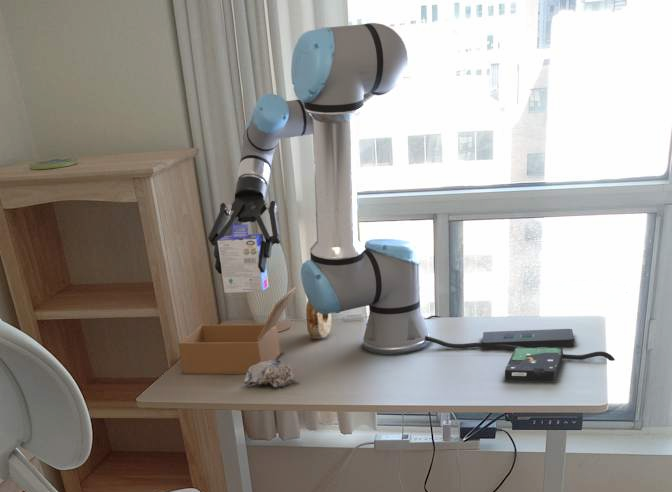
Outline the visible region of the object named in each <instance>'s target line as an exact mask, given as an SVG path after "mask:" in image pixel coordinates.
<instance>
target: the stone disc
mask: <svg viewBox="0 0 672 492" xmlns="http://www.w3.org/2000/svg"><path fill="white" fill-rule="evenodd" d="M305 311H306V316H305V317H306V328H307V332H308V334H309V337H310V338H311V339H313V340H321V339H325V338H326V337H328V335H329V333H330V331H331V329H332V313H330V314H321V313H319V312H317V311H316V310H315V309H314V308H313V307H312V305H311V304H310V302H309V300H308V299H307V302H306V309H305Z"/></svg>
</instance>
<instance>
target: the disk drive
mask: <svg viewBox="0 0 672 492" xmlns="http://www.w3.org/2000/svg"><path fill="white" fill-rule="evenodd" d="M563 354H564V347H538V348H520V347H518V348H517V349H515V350H512V354H511V355H510V358H509V361H508V362H507V365H506V367H505V370H504V381H507V382H517V383H518V382H519V383H555V382H556V380H557V378H558V374H559V371H560V368H561V364H562V362H563V360H564V359H563Z"/></svg>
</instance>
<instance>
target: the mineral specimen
mask: <svg viewBox="0 0 672 492" xmlns="http://www.w3.org/2000/svg"><path fill="white" fill-rule="evenodd" d="M295 382H296V381H295V375H294V374H293V371H292V368H291V367H289V366H288V365H286V364H284V363H283V362H282V361H281V359H278V358H276V359H274V360H269V361H264V362H259V363H258V364H256V365H253V366H251V367H250V368H249V369H248V372H247V374H245V377H244V379H243V384H244V385H248V387H253V386H254V385H260V386H261V385H262V384H263V385H265V386H266V385H267V384H270V385H271V386H272V387H273V388H280V387H281V388H283V387H285V386H289V385H291V384H293V383H295Z"/></svg>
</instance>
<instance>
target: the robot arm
mask: <svg viewBox="0 0 672 492" xmlns="http://www.w3.org/2000/svg"><path fill="white" fill-rule="evenodd" d="M408 57H409V56H408V51H407V47H406V44H405V42H404V41H403V39H402V37H401V36H400V35H399V34H398V33H397V31H395V30H394V29H393V28H391V27H390V26H387V25H385V24H382V23H378V22H377V23H376V22H369V23H362V24H361V23H360V24H353V25H352V24H351V25H341V26H338V25H337V26H328V27H327V26H326V27H324V26H322V27H321V28H316V29H311V30H307V31H304V33H302V34H301V35H300V36H299V38H298V39H297V41H296V43H295V44H294V48H293V52H292V57H291V66H290V72H291V73H290V74H291V75H290V76H291V84H292V85H293V91H294V94H295V96H296V98H298V99H291V100H285V98H283V97H282V96H281V95H279V94H278V95H277V94H275V93H272V92H271V93H265V94H263V95H262V96H261V97H260V98H259V99H258V100H257V102H256V104H255V106H254V108H253V110H252V114H251V119H250V121H248V122H247V123H246V125H245V128H244V132H243V135H242V146H241V154H240V161H239V167H238V171H237V178H236V185H235V191H234V200H233V202H232V203H231V204H226V203H225V202H221V203H220V205H219V212H218V215H217V217H216V219H215V221H214V224H213V226H212V228H211V230H210V232H209V234H208V237H207V239H208V241H209V243H210V244H211V246H213V247H214V250H213V257H214V258H215V264H214V268H215V270H216V271H217V273H218V274H220V275H222V271H221V264H220V256H219V249H218V242H217V241H218V240H219V239H220V238H222V237H224V236H232V233H233V225H243V223H248V222H249V223H255V222H257V226H258V227H259V229H260V231H261V234H262V235H263V239H264V240H263V241H262V242H261V249H260V255H259V262H258V267H259V269H260V271H261V273H265V266H266V267H267V260H268V259H270V258H271V256H272V251H273V249H272V248H273V246H274V245H275V244H276V245H279V244H281V243H282V239H281V234H280V227H279V221H278V212H279V207H278V204H277V203H276V200H271V201H270V202H267V199H268V192H269V186H270V179H271V178H270V177H271V171H272V163H273V159H274V152H275V151H276V148H277V146H278V144H279V142H280V140H281V139H282V140H283V139H290V138H296V137H302V136H310V135H312V142H313V167H314V168H313V170H314V196H315V199H314V200H315V222H316V241H315V242H314V243H313V244H312V245H311V246H310V249H309V251H310V252H309V253H310V259H307V260H306V261H304V262H303V263H302V265H301V269H300V279H301V283H302V288H303V291H304V294H305V296H306V299H307V301H308V300H309V302H310V304H311V305H312V307H313V308H314V309H315V310H316V311H317V312H319V313H321V314H330V313H331V314H340V313H341V312H346V311H349V310H354V309H359V308H363V307H367V306H368V310H369V313H368V318H367V322H366V324H365V325H366V326H365V329H364V335H363V348H364V349H365V350H366V351H368V352H370V353H375V354H380V355H400V354H408V353H412V352H416V351H419V350H422V349H424V348H426V347H427V346H428V345H429V343H430V342H431V343H434V344H437V345H440V346H442V347H445V348H451V349H469V348H470V349H471V348H483V342H469V343H451V342H446V341H445V340H442V339H437V338H435V337H432V336H430V334H429V330H428V327H427V325H426V321H425V318H424V316H423V313H422V309H421V294H420V290H421V289H420V263H421V262H420V259H419V251H418V247H417V245H416V244H415V243H414V242H411V241H407V240H402V239H393V238H374V239H369V240H366V242H365V243H364V245H363V243H362V242H361V241H359V240H358V197H357V196H358V194H357V189H358V188H357V186H358V185H357V182H358V181H357V180H358V179H357V117H358V115H359V114H360V113H361V111H362V110H363V109H364V108H365V107H364V106H365V105H364V103H366V102H368V101H369V100H370V99H371V98H372V97H373V98H374V96H382V95H385V94H387V93H389V92H390V91H391V90H394V89H395V88H396V87H397V86H398V85H399V84H400V83H401V82H402V80H403V78H404V77H405V75H406V73H407V68H408V62H409V61H408V59H409V58H408ZM266 211H267V212H268V214H269V221H270V227H271V233H272V235H270V233H269V231H268V230H267V227H266V225H265V223H264V221H263V218H262V215H263V214H265V212H266ZM231 212H232V213H231ZM229 216H230V218H229ZM228 218H229V220H228ZM236 230H237V229H235V231H236ZM495 347H496V348H502V349H501V350H510V351H514V350H515V349H517V348H518V347H519V346H513V345H505V344H497V345H495ZM520 348H525V347H520ZM595 357H596V358H597V357H603V358H605V359H607V360H608V361H611V362H612V361H613V362H614V361H616V358H615V357H614V356H613V355H612V354H611V353H608V352H605V351H594V352H593V351H592V352H589V353H584V354H566V353H563V359H562V360H576V361H577V360H579V361H580V360H587V359H591V358H595Z"/></svg>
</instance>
